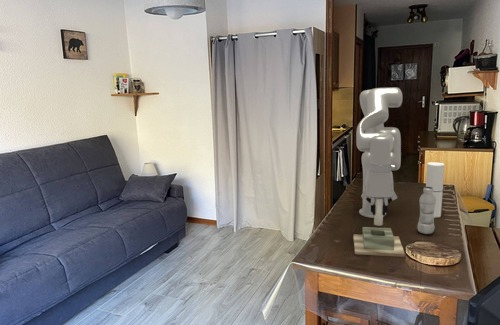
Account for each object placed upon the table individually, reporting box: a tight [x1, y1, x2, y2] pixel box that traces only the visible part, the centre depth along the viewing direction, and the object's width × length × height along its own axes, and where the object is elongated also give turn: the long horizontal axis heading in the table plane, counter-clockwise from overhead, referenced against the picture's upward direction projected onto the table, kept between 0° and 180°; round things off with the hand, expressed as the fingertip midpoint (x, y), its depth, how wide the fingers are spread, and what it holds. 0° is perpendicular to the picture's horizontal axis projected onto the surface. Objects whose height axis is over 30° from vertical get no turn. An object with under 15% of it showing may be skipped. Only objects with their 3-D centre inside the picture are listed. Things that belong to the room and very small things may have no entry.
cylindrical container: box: [425, 161, 445, 219], centre depth 178 cm, size 7×7×25 cm
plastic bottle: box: [417, 186, 436, 235], centre depth 159 cm, size 6×7×20 cm
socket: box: [352, 226, 406, 258], centre depth 151 cm, size 16×18×6 cm
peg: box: [373, 198, 384, 227], centre depth 147 cm, size 3×3×12 cm
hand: (378, 213), depth 148 cm, fingers closed on peg, 3 cm apart
